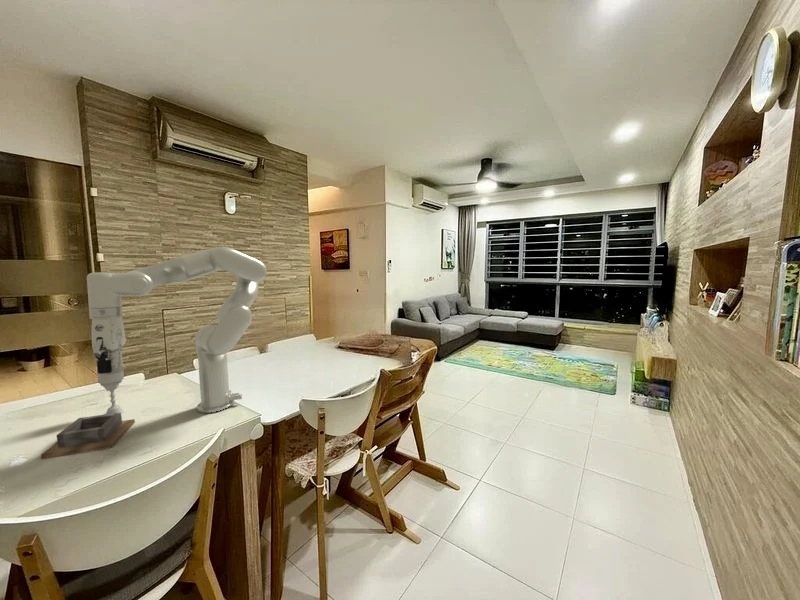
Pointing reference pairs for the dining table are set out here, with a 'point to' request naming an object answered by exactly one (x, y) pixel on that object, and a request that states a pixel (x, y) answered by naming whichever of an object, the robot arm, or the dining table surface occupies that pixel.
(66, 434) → the socket block
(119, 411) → the chalice
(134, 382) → the dining table surface
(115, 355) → the energy drink can
